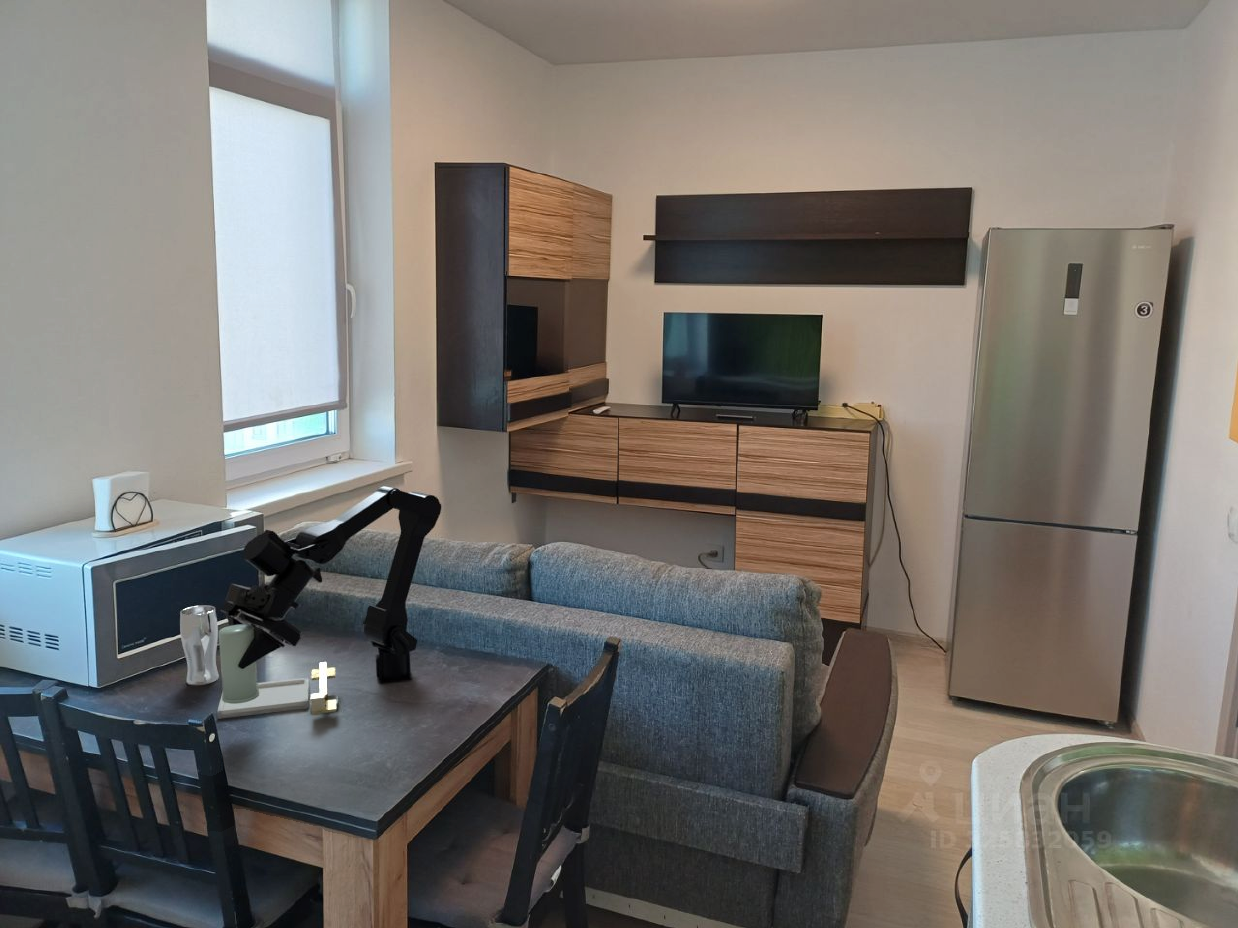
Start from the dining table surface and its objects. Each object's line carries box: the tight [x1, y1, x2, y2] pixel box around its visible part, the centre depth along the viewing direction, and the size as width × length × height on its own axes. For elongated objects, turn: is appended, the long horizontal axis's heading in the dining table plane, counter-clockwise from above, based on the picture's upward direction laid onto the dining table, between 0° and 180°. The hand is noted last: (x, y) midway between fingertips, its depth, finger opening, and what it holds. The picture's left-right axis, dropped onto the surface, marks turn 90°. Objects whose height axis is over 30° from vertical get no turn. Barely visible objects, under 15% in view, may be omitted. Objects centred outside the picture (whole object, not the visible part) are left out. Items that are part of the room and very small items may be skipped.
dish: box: [217, 677, 310, 720], centre depth 178 cm, size 16×12×2 cm
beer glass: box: [179, 604, 220, 686], centre depth 187 cm, size 7×7×15 cm
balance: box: [310, 661, 339, 715], centre depth 175 cm, size 5×15×7 cm, turn 18°
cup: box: [218, 624, 259, 704], centre depth 163 cm, size 6×6×12 cm
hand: (231, 663), depth 162 cm, fingers closed on cup, 6 cm apart
